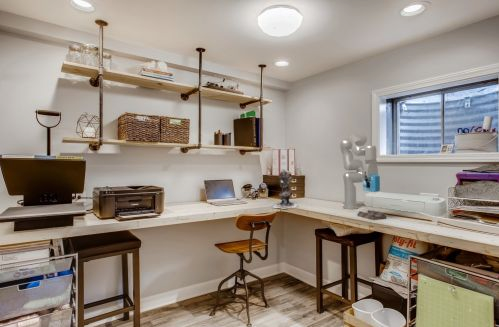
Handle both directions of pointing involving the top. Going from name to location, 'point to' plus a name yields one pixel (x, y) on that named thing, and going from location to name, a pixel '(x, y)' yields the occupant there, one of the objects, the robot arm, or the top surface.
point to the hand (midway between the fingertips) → (371, 187)
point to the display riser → (371, 215)
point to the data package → (372, 184)
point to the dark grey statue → (285, 191)
